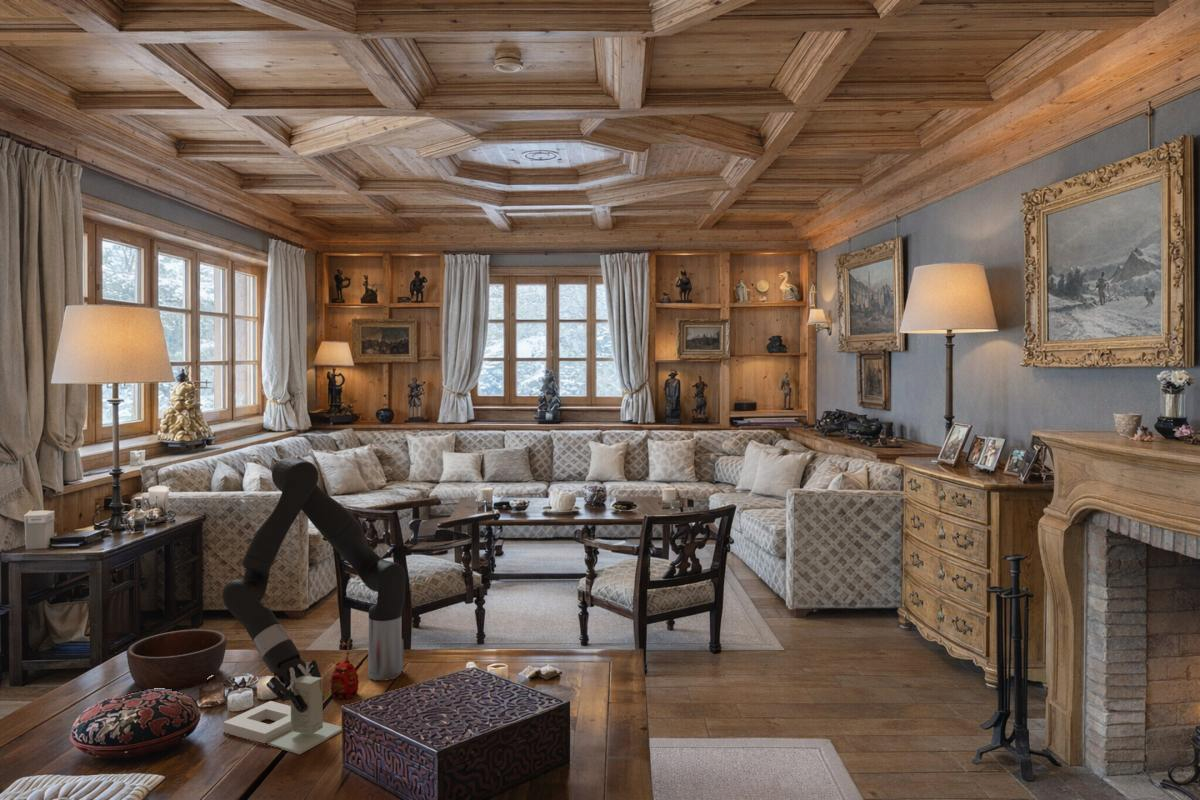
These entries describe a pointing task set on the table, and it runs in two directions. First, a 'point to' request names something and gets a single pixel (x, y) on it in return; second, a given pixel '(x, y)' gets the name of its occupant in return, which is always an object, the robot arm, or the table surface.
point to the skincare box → (308, 705)
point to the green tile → (304, 739)
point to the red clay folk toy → (344, 679)
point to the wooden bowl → (176, 658)
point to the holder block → (254, 729)
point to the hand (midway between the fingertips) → (312, 706)
